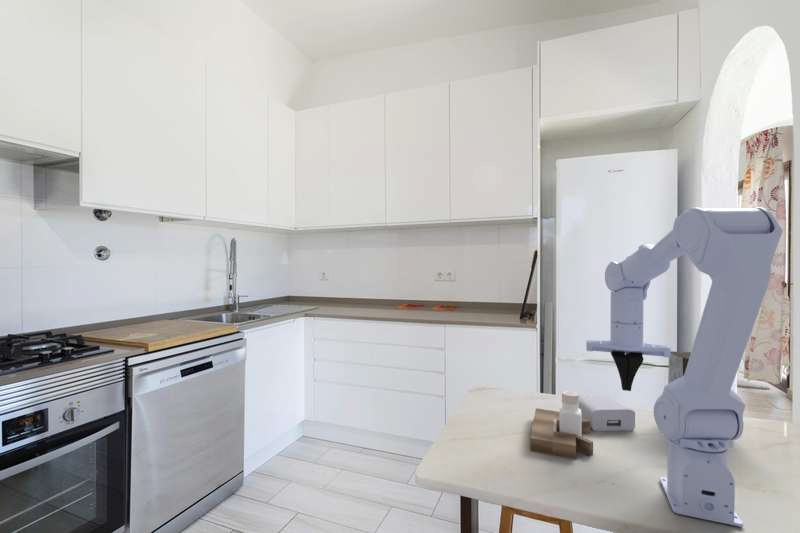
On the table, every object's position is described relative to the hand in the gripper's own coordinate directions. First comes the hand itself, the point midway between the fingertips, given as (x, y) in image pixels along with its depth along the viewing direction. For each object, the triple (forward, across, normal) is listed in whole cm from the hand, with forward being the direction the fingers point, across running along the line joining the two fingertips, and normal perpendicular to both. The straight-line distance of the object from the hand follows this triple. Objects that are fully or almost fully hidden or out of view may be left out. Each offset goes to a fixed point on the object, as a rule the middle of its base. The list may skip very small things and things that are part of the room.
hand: (626, 389), depth 78 cm
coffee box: (+11, -15, -12) cm, 22 cm away
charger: (+11, +5, -11) cm, 16 cm away
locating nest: (+10, +12, +4) cm, 16 cm away
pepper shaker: (+11, +10, +4) cm, 15 cm away
